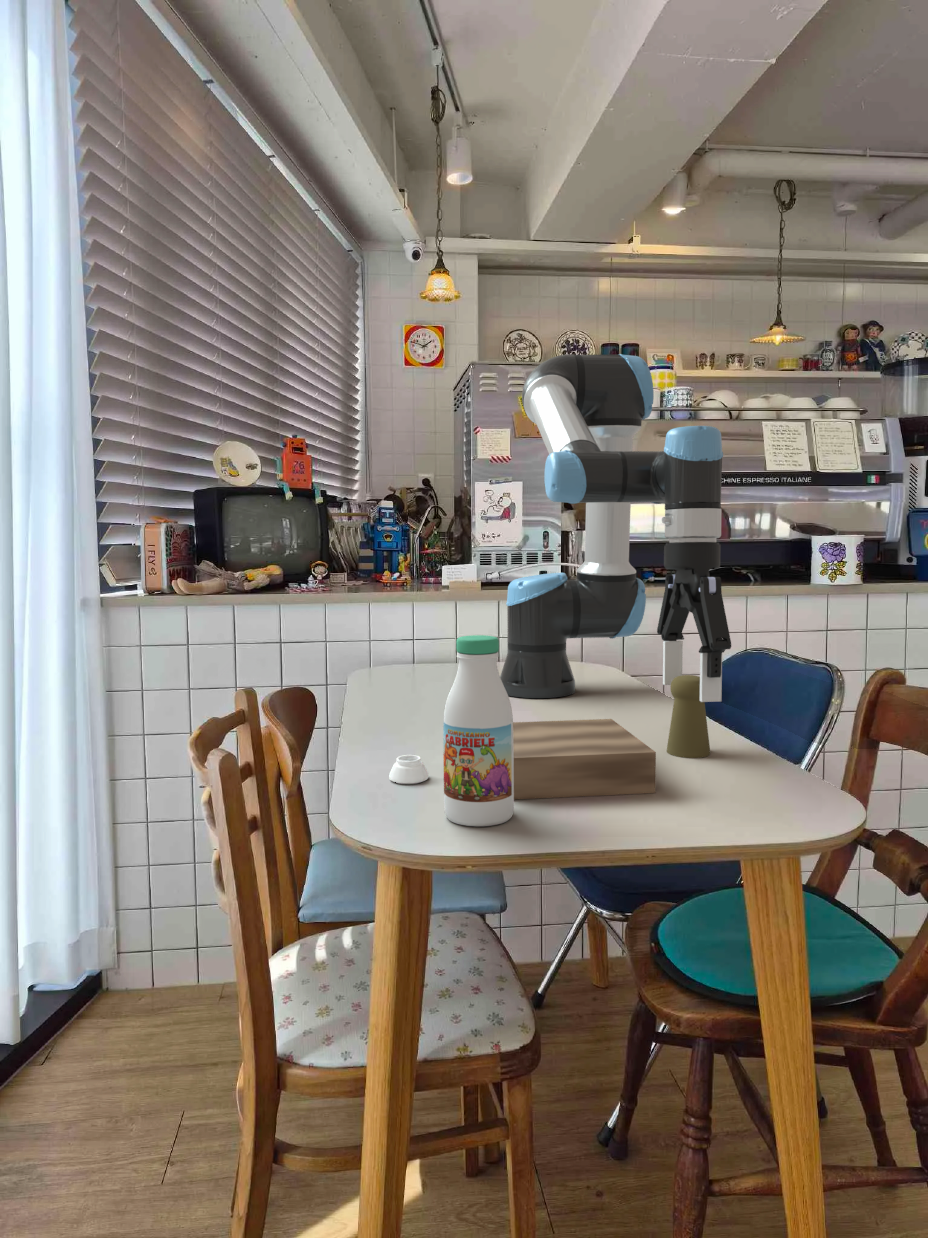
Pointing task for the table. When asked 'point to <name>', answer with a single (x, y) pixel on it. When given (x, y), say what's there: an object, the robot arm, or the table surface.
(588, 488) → the robot arm
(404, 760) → the white jar
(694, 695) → the olive pepper mill
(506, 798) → the milk bottle
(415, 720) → the table surface
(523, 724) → the walnut riser
